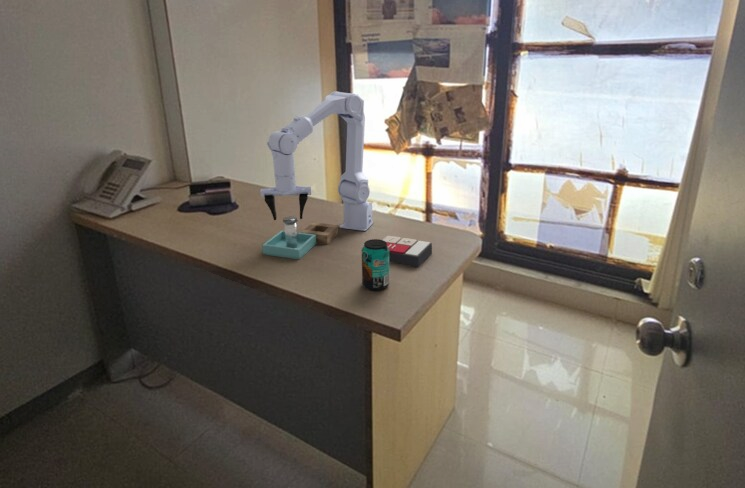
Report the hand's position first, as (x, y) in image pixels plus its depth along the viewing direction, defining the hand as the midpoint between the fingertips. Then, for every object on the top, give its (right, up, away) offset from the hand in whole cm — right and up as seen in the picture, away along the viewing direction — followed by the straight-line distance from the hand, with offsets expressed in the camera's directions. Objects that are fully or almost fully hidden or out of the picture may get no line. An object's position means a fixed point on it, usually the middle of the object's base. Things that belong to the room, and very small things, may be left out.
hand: (288, 218), depth 145 cm
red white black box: (+34, -12, 0) cm, 36 cm away
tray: (0, -9, +4) cm, 10 cm away
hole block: (+8, -5, +12) cm, 15 cm away
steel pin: (0, -8, +4) cm, 9 cm away
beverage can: (+26, -19, -17) cm, 36 cm away
